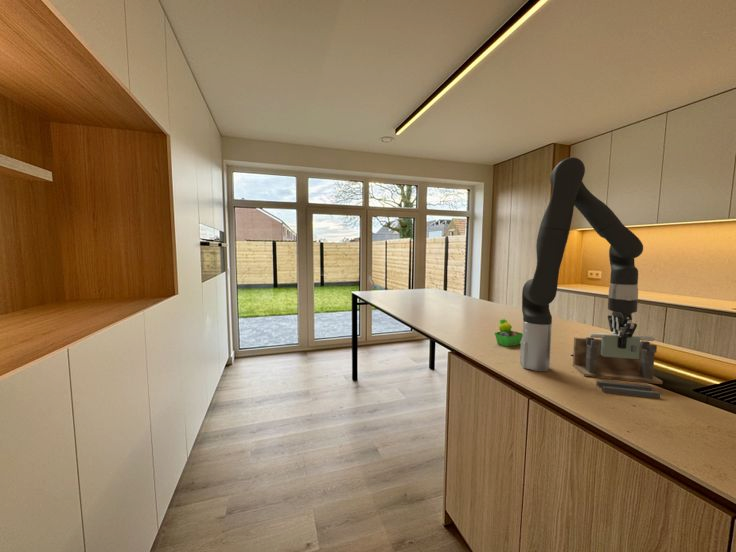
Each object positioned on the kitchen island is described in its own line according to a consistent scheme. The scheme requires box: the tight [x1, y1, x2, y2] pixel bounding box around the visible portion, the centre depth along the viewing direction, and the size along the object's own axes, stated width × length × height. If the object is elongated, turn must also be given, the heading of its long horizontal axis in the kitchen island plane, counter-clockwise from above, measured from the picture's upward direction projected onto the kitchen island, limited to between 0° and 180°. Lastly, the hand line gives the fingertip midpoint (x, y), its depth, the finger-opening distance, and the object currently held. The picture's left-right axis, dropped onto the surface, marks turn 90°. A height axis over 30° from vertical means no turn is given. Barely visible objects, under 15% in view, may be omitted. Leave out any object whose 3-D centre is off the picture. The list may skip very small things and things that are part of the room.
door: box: [589, 332, 656, 359], centre depth 100 cm, size 18×3×8 cm, turn 74°
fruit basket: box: [494, 318, 523, 347], centre depth 138 cm, size 11×9×11 cm
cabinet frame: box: [572, 336, 663, 385], centre depth 103 cm, size 22×10×13 cm, turn 74°
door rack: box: [595, 380, 661, 399], centre depth 90 cm, size 14×5×2 cm, turn 74°
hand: (619, 346), depth 100 cm, fingers closed on door, 2 cm apart
